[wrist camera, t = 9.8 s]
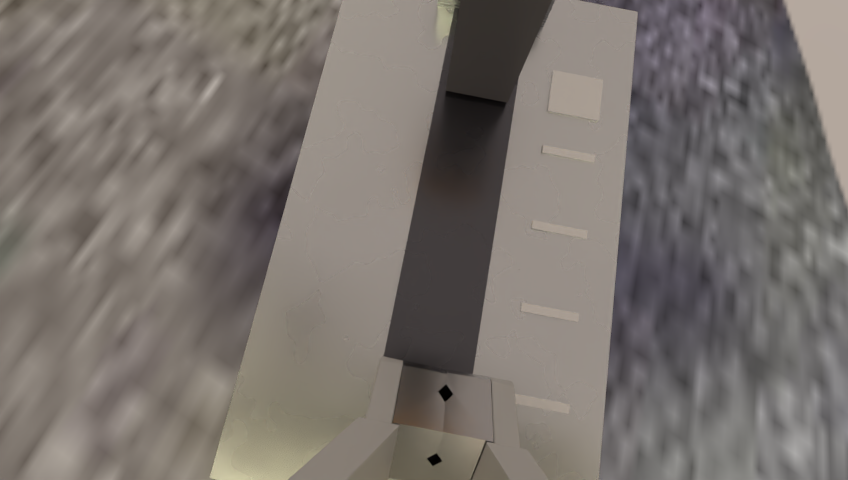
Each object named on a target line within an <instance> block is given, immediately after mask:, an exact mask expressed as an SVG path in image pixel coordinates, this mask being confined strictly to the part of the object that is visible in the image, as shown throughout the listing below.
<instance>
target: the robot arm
mask: <svg viewBox="0 0 848 480" xmlns="http://www.w3.org/2000/svg"><path fill="white" fill-rule="evenodd" d="M402 366H403V367H402ZM401 371H402V372H401ZM388 478H391V479H397V480H549V479H548V478H547V476H546V475H545V473H544V472H543V471H542V469H541V468H540V466H539V465H538V464H537V462H536V461H535V459H534V458H533V457H532V455H531V454H530V452H529V451H528V450H526V449H522V448H521V446H520V436H519V427H518V417H517V408H516V398H515V388H514V384H513V382H512V381H508V380H503V379H498V378H492V377H490V378H489V377H488V376H482V375H477V374H471V373H466V372H460V371H455V370H449V369H441V368H437V367H432V366H428V365H423V364H418V363H414V362H409V361H405V360H404V362H403V360H399V359H394V358H389V357H385V356H381V358H380V361H379V364H378V368H377V372H376V376H375V380H374V384H373V388H372V392H371V396H370V400H369V404H368V408H367V412H366V416H365V418H360V417H358V418H357V419H356V420H354V421H353V422H352V423H351V424H350V425H349V426H348V427H347V428H345V429H344V430H343V431H342V432H341V433H340V434H339V435H338V436H336V437H335V438H334V439H333V440H332V441H331V442H330V443H328V444H327V445H326V446H325V447H324V448H323V449H322V450H321V451H319V452H318V453H317V454H316V455H315V456H314V457H313V458H312V459H310V460H309V461H308V462H307V463H306V464H305V465H304V466H303V467H301V468H300V469H299V470H298V471H297V472H296V473H295V474H294V475H292V476H291V477H290V478H289V479H288V480H388Z"/></svg>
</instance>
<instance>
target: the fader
mask: <svg viewBox="0 0 848 480" xmlns="http://www.w3.org/2000/svg"><path fill="white" fill-rule="evenodd" d="M551 2H552V0H460V6H459V12H458V18H457V24H456V30H455V37H454V43H453V49H452V55H451V61H450V67H449V73H448V79H447V85H446V91H450V92H455V93H460V94H466V95H471V96H476V97H481V98H486V99H491V100H496V101H502V102H507V103H508V101H509V98H510V96H511V94H512V92H513V89H514V87H515V85H516V82H517V80H518V78H519V75H520V73H521V71H522V68H523V66H524V64H525V62H526V59H527V57H528V55H529V52H530V50H531V48H532V45H533V43H534V41H535V38H536V36H537V34H538V32H539V29H540V27H541V25H542V22H543V20H544V18H545V15H546V13H547V11H548V8H549V6H550V4H551Z"/></svg>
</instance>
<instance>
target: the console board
mask: <svg viewBox="0 0 848 480" xmlns="http://www.w3.org/2000/svg"><path fill="white" fill-rule="evenodd" d="M459 6H460V0H342V3H341V7H340V10H339V14H338V18H337V21H336V25H335V28H334V32H333V36H332V39H331V43H330V46H329V50H328V54H327V57H326V61H325V65H324V68H323V72H322V75H321V79H320V83H319V86H318V90H317V93H316V97H315V101H314V104H313V108H312V111H311V115H310V119H309V122H308V126H307V129H306V133H305V137H304V140H303V144H302V147H301V151H300V155H299V158H298V162H297V165H296V169H295V173H294V176H293V180H292V183H291V187H290V191H289V194H288V198H287V201H286V205H285V209H284V212H283V216H282V219H281V223H280V227H279V230H278V234H277V237H276V241H275V245H274V248H273V252H272V255H271V259H270V263H269V266H268V270H267V273H266V277H265V281H264V284H263V288H262V291H261V295H260V299H259V302H258V306H257V309H256V313H255V317H254V320H253V324H252V327H251V331H250V335H249V338H248V342H247V345H246V349H245V353H244V356H243V360H242V363H241V367H240V371H239V374H238V378H237V381H236V385H235V389H234V392H233V396H232V399H231V403H230V407H229V410H228V414H227V417H226V421H225V425H224V428H223V432H222V435H221V439H220V443H219V446H218V450H217V453H216V457H215V461H214V464H213V468H212V471H211V475H210V478H213V479H218V480H288V479H289V478H290V477H291V476H292V475H294V474H295V473H296V472H297V471H298V470H299V469H300V468H301V467H303V466H304V465H305V464H306V463H307V462H308V461H309V460H310V459H312V458H313V457H314V456H315V455H316V454H317V453H318V452H319V451H321V450H322V449H323V448H324V447H325V446H326V445H327V444H328V443H330V442H331V441H332V440H333V439H334V438H335V437H336V436H338V435H339V434H340V433H341V432H342V431H343V430H344V429H345V428H347V427H348V426H349V425H350V424H351V423H352V422H353V421H354V420H356V419H357V418H358V417H360V418H365V416H366V412H367V408H368V404H369V400H370V396H371V392H372V388H373V384H374V380H375V376H376V372H377V368H378V364H379V361H380V358H381V356H385V357H389V358H394V359H399V360H403V362H404V360H405V361H409V362H414V363H418V364H423V365H428V366H432V367H437V368H441V369H449V370H455V371H460V372H466V373H471V374H477V375H482V376H488V377H489V378H490V377H492V378H498V379H503V380H508V381H512V382H513V384H514V388H515V398H516V408H517V417H518V427H519V436H520V446H521V448H522V449H526V450H528V451H529V452H530V454H531V455H532V457H533V458H534V459H535V461H536V462H537V464H538V465H539V466H540V468H541V469H542V471H543V472H544V473H545V475H546V476H547V478H548V479H549V480H599V469H600V457H601V445H602V433H603V422H604V410H605V398H606V386H607V374H608V362H609V350H610V338H611V326H612V314H613V302H614V291H615V279H616V267H617V255H618V243H619V231H620V219H621V207H622V195H623V183H624V171H625V160H626V148H627V136H628V124H629V112H630V100H631V88H632V76H633V64H634V52H635V40H636V29H637V17H638V12H636V11H631V10H626V9H621V8H616V7H611V6H605V5H600V4H595V3H590V2H585V1H580V0H552V2H551V4H550V6H549V8H548V11H547V13H546V15H545V18H544V20H543V22H542V25H541V27H540V29H539V32H538V34H537V36H536V38H535V41H534V43H533V45H532V48H531V50H530V52H529V55H528V57H527V59H526V62H525V64H524V66H523V68H522V71H521V73H520V75H519V78H518V80H517V82H516V85H515V87H514V89H513V92H512V94H511V96H510V98H509V101H508V103H507V102H502V101H496V100H491V99H486V98H481V97H476V96H471V95H466V94H460V93H455V92H450V91H446V85H447V79H448V73H449V67H450V61H451V55H452V49H453V43H454V37H455V30H456V24H457V18H458V12H459ZM402 367H403V366H402ZM401 372H402V371H401ZM388 480H397V479H391V478H388Z"/></svg>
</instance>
